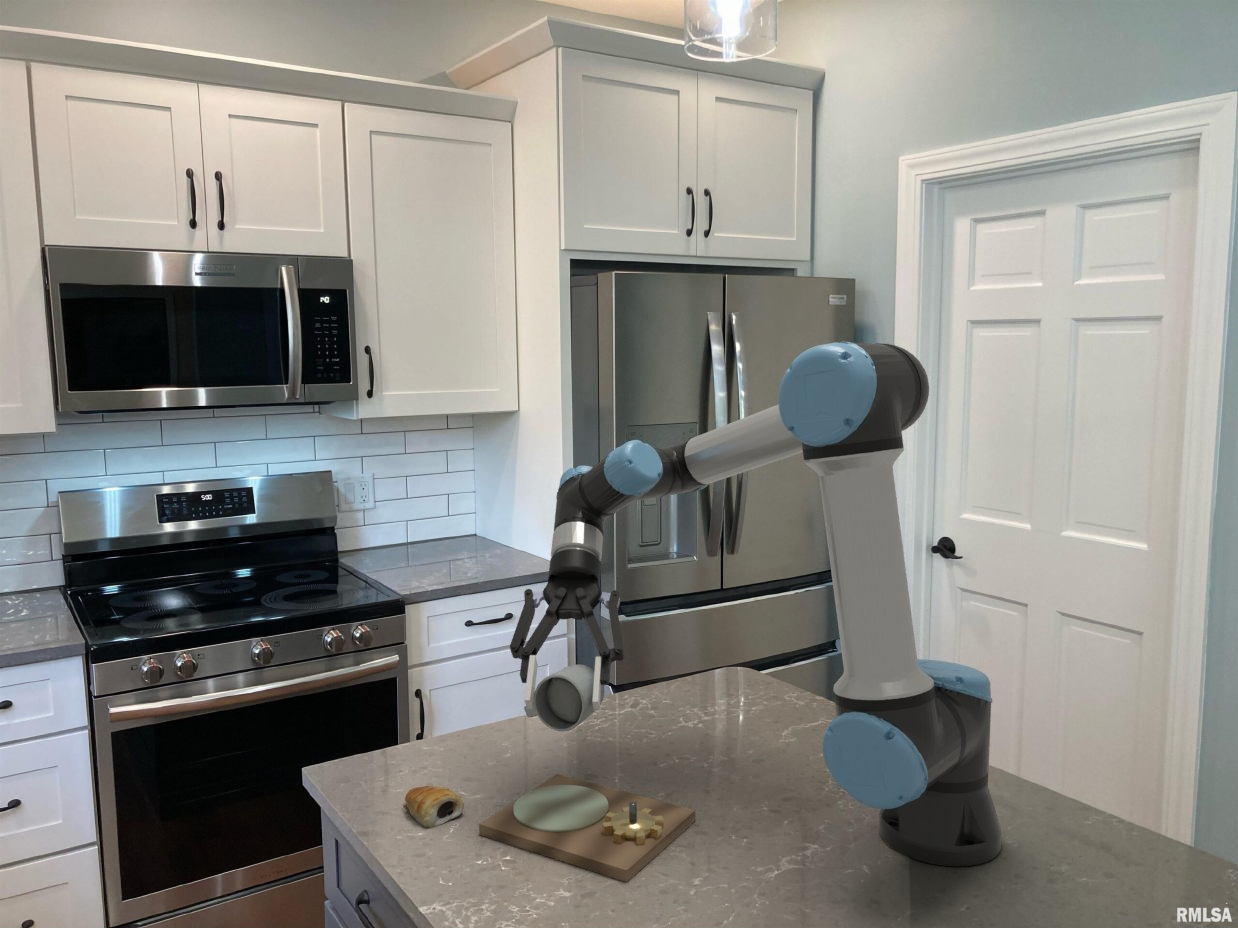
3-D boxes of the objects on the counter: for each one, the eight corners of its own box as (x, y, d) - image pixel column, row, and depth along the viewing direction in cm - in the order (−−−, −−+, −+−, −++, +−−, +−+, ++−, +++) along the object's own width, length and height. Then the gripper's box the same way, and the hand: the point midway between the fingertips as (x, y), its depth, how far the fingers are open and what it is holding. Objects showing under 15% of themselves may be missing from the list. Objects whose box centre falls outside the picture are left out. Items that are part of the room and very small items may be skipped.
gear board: (695, 820, 130) (695, 806, 129) (627, 881, 114) (626, 866, 114) (557, 783, 142) (557, 770, 142) (479, 834, 126) (478, 820, 126)
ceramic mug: (608, 713, 133) (607, 660, 132) (584, 735, 125) (582, 678, 125) (540, 705, 137) (539, 653, 136) (513, 725, 129) (511, 670, 129)
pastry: (393, 808, 135) (392, 782, 134) (434, 794, 139) (433, 769, 139) (427, 831, 128) (427, 804, 127) (470, 816, 132) (469, 789, 132)
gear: (674, 824, 126) (674, 798, 125) (644, 850, 119) (643, 823, 118) (623, 810, 130) (622, 784, 129) (590, 834, 123) (590, 808, 123)
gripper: (648, 574, 142) (642, 718, 128) (508, 573, 144) (488, 714, 130) (646, 547, 136) (640, 694, 122) (501, 545, 138) (478, 690, 124)
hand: (562, 704), depth 126 cm, fingers closed on ceramic mug, 8 cm apart
